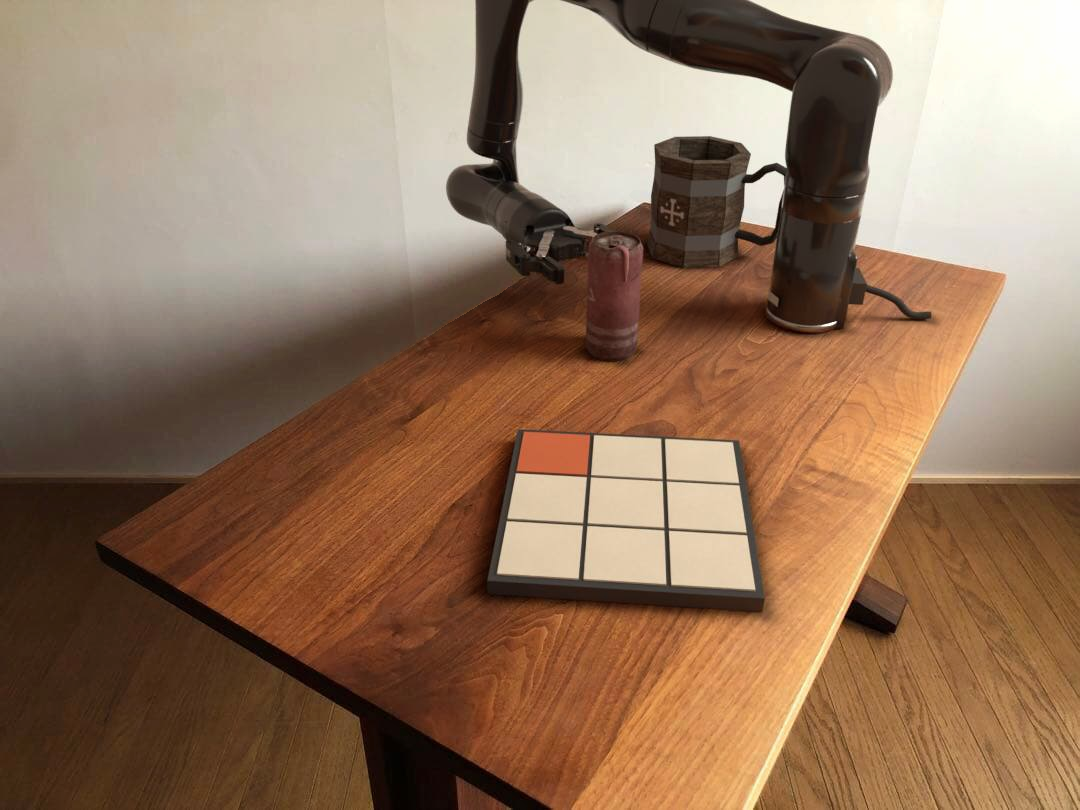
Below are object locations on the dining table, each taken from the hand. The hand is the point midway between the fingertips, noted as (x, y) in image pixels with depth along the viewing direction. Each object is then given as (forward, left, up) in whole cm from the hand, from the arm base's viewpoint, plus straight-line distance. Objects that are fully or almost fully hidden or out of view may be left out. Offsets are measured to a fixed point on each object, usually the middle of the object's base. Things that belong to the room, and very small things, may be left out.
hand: (593, 270), depth 108 cm
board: (-5, +35, -8) cm, 36 cm away
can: (-3, +4, -9) cm, 10 cm away
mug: (-17, -27, -9) cm, 33 cm away
